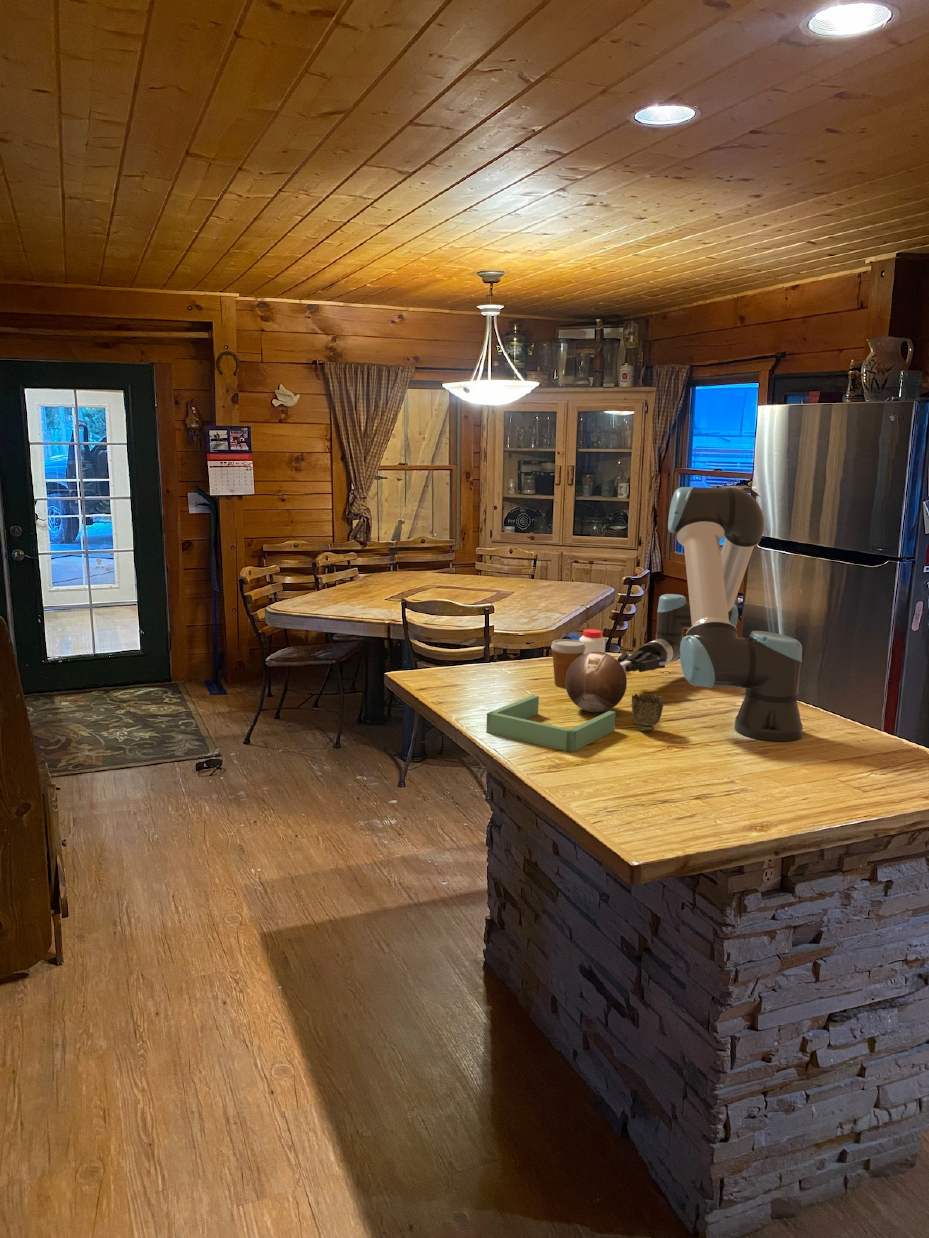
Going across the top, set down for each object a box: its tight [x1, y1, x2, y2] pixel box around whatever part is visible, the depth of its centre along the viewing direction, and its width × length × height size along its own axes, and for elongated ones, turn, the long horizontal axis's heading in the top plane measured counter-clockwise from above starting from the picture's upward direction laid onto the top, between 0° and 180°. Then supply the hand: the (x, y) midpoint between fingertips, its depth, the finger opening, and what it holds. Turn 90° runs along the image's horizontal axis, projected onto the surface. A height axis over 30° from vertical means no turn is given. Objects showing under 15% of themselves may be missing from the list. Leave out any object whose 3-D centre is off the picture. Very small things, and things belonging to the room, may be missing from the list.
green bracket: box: [485, 695, 617, 753], centre depth 210 cm, size 20×22×4 cm
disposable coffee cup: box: [550, 638, 586, 689], centre depth 252 cm, size 10×10×12 cm
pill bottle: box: [578, 628, 606, 654], centre depth 274 cm, size 8×8×11 cm
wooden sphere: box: [565, 652, 628, 713], centre depth 226 cm, size 15×15×15 cm
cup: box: [631, 693, 665, 733], centre depth 212 cm, size 8×7×8 cm
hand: (617, 670), depth 236 cm, fingers closed
